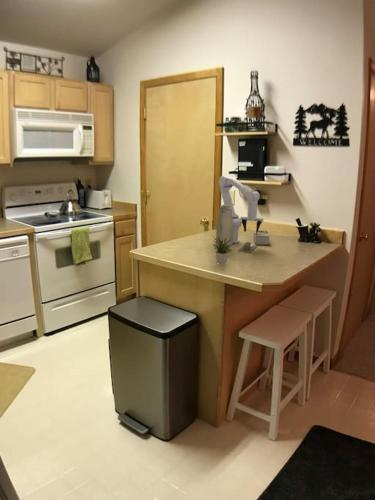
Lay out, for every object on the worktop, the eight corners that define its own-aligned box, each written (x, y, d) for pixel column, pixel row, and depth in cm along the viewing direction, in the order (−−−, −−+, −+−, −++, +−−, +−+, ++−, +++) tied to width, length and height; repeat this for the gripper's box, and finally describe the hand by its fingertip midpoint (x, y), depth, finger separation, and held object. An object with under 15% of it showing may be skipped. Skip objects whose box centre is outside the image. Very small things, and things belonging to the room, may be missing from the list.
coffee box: (269, 245, 263) (266, 239, 278) (269, 235, 261) (267, 230, 277) (254, 244, 264) (253, 239, 279) (255, 235, 262) (253, 230, 278)
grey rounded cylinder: (218, 247, 255) (219, 203, 248) (233, 248, 252) (236, 204, 245) (213, 250, 246) (215, 205, 239) (230, 252, 243) (232, 206, 236)
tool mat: (237, 251, 246) (237, 250, 246) (245, 244, 263) (245, 244, 263) (250, 252, 243) (250, 252, 243) (257, 246, 260) (257, 245, 260)
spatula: (249, 250, 246) (249, 245, 245) (241, 249, 248) (241, 244, 247) (254, 245, 258) (254, 240, 258) (246, 245, 260) (246, 239, 259)
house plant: (202, 264, 217) (203, 234, 213) (211, 258, 229) (212, 230, 225) (227, 268, 211) (228, 237, 207) (235, 261, 223) (236, 232, 219)
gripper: (239, 210, 252) (238, 232, 256) (262, 212, 247) (260, 234, 250) (242, 209, 259) (241, 230, 262) (264, 211, 253) (263, 232, 257)
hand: (251, 232), depth 257 cm, fingers open, 7 cm apart
